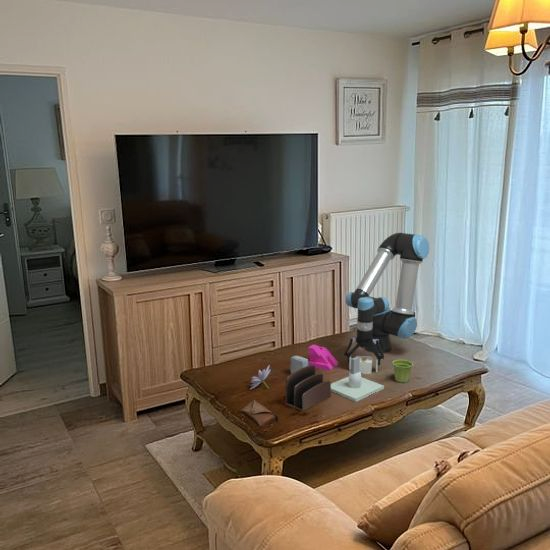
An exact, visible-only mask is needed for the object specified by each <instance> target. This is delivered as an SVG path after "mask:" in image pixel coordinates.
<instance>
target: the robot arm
mask: <svg viewBox="0 0 550 550" xmlns="http://www.w3.org/2000/svg"><path fill="white" fill-rule="evenodd" d="M376 252H377V254H376V255H375V257H374V259H373V260H372V262H371V263H370V265H369V267H368V269H367V270H366V272H365V274H364V275H363V277H362V279H361V281H360V282H359V284H358V286H357V287H356V288H355V290H354V291H353V292H349V293H347V294H346V296H345V304H346V305H347V306H348V307H351V308H353V309H357V319H356V320H357V321H356V328H357V329H356V338H355V337H353V336H351V337H350V339H349V343H348V345H347V347H346V349H345V350H344V352H343V356H344V357H347V360H346V363H347V364H349V365H348V366H349V367H348V368H349V369H348V370H349V371H351V359H352V357H353V356H352V355H353V354H354V353H355V352H356V351H357V350H358V348H361V349H362V348H363V349H364V348H365V349H364V350H366V351H367V352H370V353H372V354H373V355H374V356H375V358H376V359H375V361H376V362H375V373H378V370H379V366H381V359H383V360H384V359H385V354H386V352H387V353H390V352H392V351H393V344H392V341H391V337H390V335H391V336H395V337H398V338H403V339H409V338H411V337H412V336H413V334H414V333H415V332H416V331H417V327H418V320H417V318H416V317H415V313H414V311H413V310H412V309H413V303H414V299H415V298H414V297H415V293H416V292H415V291H416V285H417V284H416V283H417V279H418V273H419V266H420V264H422V263H423V260H424V259H426V258H427V257H428V255H429V253H430V243H429V241H428V239H427V237H425V236H424V235H419V234H415V233H414V234H413V233H405V232H396V233H393V234H391V235H389V236H388V237H387V238H385V239H384V240H383V241H382V242H381V243H380V245H379V247H378V248H377V250H376ZM397 255H399V261H401V267H400V268H401V269H400V273H399V274H400V275H399V280H398V287H397V294H396V301H395V306H394V307H393V308H392V309H391V307H390V302H389V300H388V298H386V297H384V296H379V297H374V296H370V295H371V294H372V292H373V290H374V289H375V286H376V284H377V283H378V281H379V280H380V279H381V277H382V275H383V273H384V271H385V270H386V268H387V266H388V265H389V263H390V261H391V260H393V259H395V257H396V256H397ZM353 343H356V344H355V345H354V346H353V348H352V349H351V350H350V348H351V346H352V344H353ZM391 350H392V351H391Z"/></svg>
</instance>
